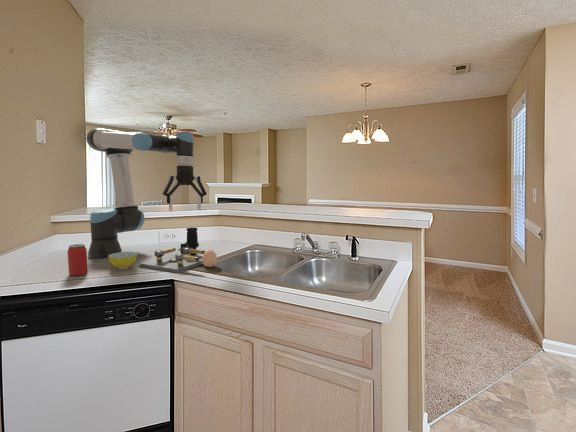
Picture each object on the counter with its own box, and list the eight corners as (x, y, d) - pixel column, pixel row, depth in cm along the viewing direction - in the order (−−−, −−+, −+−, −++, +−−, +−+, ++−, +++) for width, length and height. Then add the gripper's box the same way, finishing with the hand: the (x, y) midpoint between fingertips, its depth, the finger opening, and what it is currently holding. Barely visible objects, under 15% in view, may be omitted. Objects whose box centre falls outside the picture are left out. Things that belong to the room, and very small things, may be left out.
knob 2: (173, 265, 147) (173, 255, 146) (179, 263, 150) (179, 253, 150) (196, 269, 142) (195, 258, 141) (202, 266, 145) (201, 256, 145)
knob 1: (181, 258, 160) (181, 248, 159) (187, 256, 164) (187, 247, 163) (202, 261, 155) (202, 251, 155) (207, 259, 159) (207, 249, 158)
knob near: (159, 262, 151) (159, 252, 151) (152, 261, 153) (152, 251, 152) (178, 257, 162) (178, 247, 162) (172, 256, 164) (171, 246, 163)
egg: (220, 267, 152) (219, 249, 151) (207, 269, 148) (206, 252, 147) (212, 264, 157) (212, 247, 156) (199, 266, 153) (199, 249, 152)
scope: (187, 226, 181) (203, 227, 177) (188, 251, 182) (203, 253, 178) (177, 228, 173) (193, 229, 169) (178, 254, 175) (193, 256, 171)
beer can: (91, 272, 142) (89, 243, 140) (82, 276, 135) (80, 247, 134) (75, 271, 141) (73, 243, 140) (65, 276, 135) (63, 247, 133)
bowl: (106, 272, 141) (105, 258, 140) (112, 265, 152) (111, 252, 151) (135, 271, 144) (134, 256, 143) (139, 264, 155) (138, 251, 154)
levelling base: (139, 266, 151) (139, 261, 151) (171, 257, 169) (171, 252, 169) (177, 272, 142) (177, 267, 142) (207, 262, 160) (207, 257, 160)
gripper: (159, 164, 148) (159, 211, 151) (213, 166, 162) (213, 210, 164) (155, 164, 155) (156, 210, 157) (208, 166, 168) (207, 208, 171)
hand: (185, 210), depth 161 cm, fingers open, 13 cm apart
